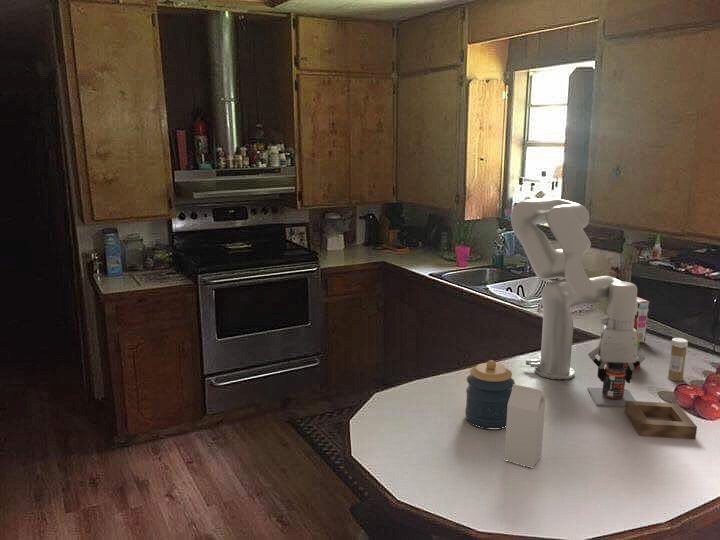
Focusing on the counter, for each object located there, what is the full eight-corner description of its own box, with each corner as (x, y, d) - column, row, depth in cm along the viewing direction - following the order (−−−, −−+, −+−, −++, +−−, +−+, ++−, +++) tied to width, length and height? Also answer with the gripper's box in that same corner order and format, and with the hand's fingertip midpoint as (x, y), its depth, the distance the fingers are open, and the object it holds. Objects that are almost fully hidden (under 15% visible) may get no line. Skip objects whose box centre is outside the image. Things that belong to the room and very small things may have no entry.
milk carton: (532, 469, 146) (538, 396, 142) (504, 461, 150) (508, 389, 145) (541, 456, 152) (546, 385, 148) (513, 448, 155) (517, 379, 151)
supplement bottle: (613, 402, 180) (617, 366, 178) (597, 394, 185) (600, 359, 183) (627, 398, 183) (631, 362, 180) (611, 390, 188) (614, 356, 186)
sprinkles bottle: (685, 379, 198) (690, 340, 195) (678, 382, 195) (683, 343, 192) (672, 375, 201) (676, 336, 198) (664, 378, 199) (669, 339, 196)
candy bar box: (645, 342, 232) (650, 301, 228) (634, 344, 231) (638, 302, 227) (626, 333, 242) (630, 293, 239) (615, 334, 241) (619, 294, 237)
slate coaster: (596, 405, 179) (596, 404, 179) (587, 389, 191) (587, 387, 191) (639, 408, 178) (639, 406, 177) (627, 391, 189) (627, 389, 189)
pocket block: (639, 435, 162) (640, 423, 161) (624, 411, 175) (625, 400, 175) (695, 439, 160) (697, 426, 159) (676, 414, 174) (677, 403, 173)
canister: (469, 406, 179) (471, 349, 175) (514, 413, 175) (518, 355, 171) (461, 426, 167) (463, 366, 163) (509, 434, 163) (513, 372, 159)
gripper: (592, 326, 176) (586, 384, 180) (655, 329, 174) (648, 387, 178) (586, 318, 184) (581, 374, 188) (646, 321, 181) (640, 377, 185)
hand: (614, 380), depth 183 cm, fingers open, 6 cm apart
